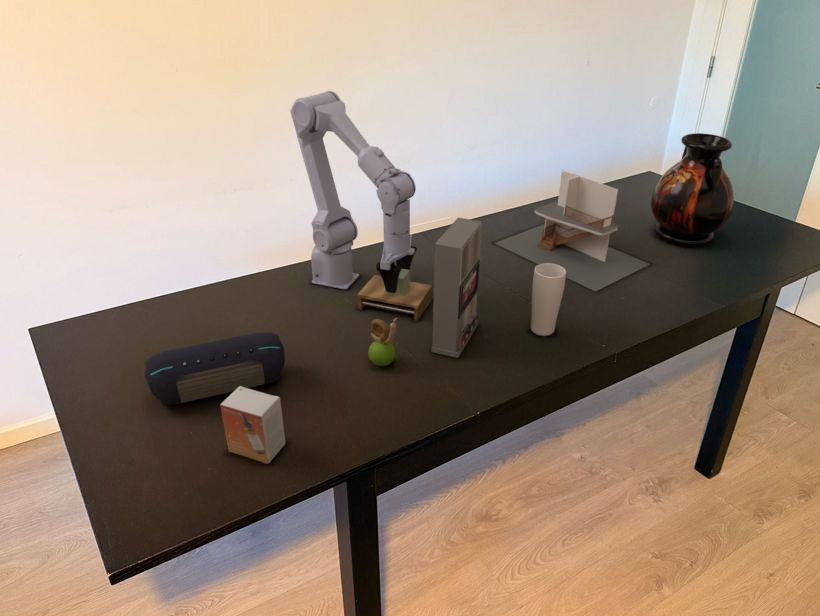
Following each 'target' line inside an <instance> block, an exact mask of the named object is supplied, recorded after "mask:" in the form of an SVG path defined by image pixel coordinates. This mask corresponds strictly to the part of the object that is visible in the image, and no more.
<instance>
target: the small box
mask: <svg viewBox="0 0 820 616" xmlns="http://www.w3.org/2000/svg"><path fill="white" fill-rule="evenodd" d="M281 402H282V401H281V397H280V396H278V395H272V394H269V393H266V392H262V391H259V390H254V389H251V388H245V387H242V386H239V387H238V388H237V389H236V390H235V391H232V392H231V393H230V394H229V396H228V397H226V398H225V399H224V400H223V401H222V402H221V403H220V404H219V406H220V411H221V417H222V422H223V426H224V427H223V428H224V434H225V438H226V444H227V449H228V452H229V453H232V454H235V455H236V454H237V455H239V456H242V457H246V458H248V459H251V460H254V461H257V462H261V463H263V464H266V465H269V464H270V463H271V461H272V460H273V459H274V458H275V457H276V456H277V454H278V453H279V452H280V451H281V450H282V449H283V447H284V446H285V445H286V436H285V429H284V420H283V410H282V404H281Z"/></svg>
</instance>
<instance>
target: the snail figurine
mask: <svg viewBox="0 0 820 616" xmlns="http://www.w3.org/2000/svg"><path fill="white" fill-rule="evenodd" d="M397 322H398V317H395V318H394V319H392V322H391V323H390V324H389V325H388V324H387V322H386V321H384V320H383V319H380V318H375V319H373V320H372V321H371V323H370V330H371V333H370V335H371V336H370V337H372V339H373V340H374V341H373V342H372V343H371V344H370V346H369V347H368V349H367V350H368V351H367V352H368V353H367V355H368V359H369V360H370V362H371V363H372V364H374V365H375V366H378V367H386V366H388V365H390V364H392V362H394V360H395V357H396V349H395V346H394V344H393V343H392V342H393V341H394V339H395V337H396V333H397V329H398V325H397Z"/></svg>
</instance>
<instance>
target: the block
mask: <svg viewBox="0 0 820 616" xmlns="http://www.w3.org/2000/svg"><path fill="white" fill-rule="evenodd" d="M410 281H411V269H410V270H406V269H401V271H400V274H399V277H398V284H397V290H396V292H395V293H389V292H386V289H385V293H388V294H394V295H399V296H404V295H405V293H406V292H407V291H408V289H409V288H410Z"/></svg>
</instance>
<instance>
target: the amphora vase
mask: <svg viewBox="0 0 820 616" xmlns="http://www.w3.org/2000/svg"><path fill="white" fill-rule="evenodd" d="M680 142H681V144H682V145H683V146H684V149H683V153H682V156H681V159H680V160H679V161H678V162H676V163H675V164H674V165H672V166H671V167H669V168H668V169H667V170H666V171H665V172H664V173H663V174H662V176H661V177H660V178H659V180H658V181H657V183H656V185H655V186H654V189H653V192H652V194H651V201H650V208H651V213H652V215H653V218H654V219H655V221H656V222H657V223H656V224H655V225H654V233H655V234H656V236H657V237H659V238H660V239H661V240H663V241H664V242H667V243H669V244H673V245H675V246H680V247H687V248H689V247H690V248H695V247H703V246H707V245H708V244H711V243H712V242H713V240H714V239H715V232H716V231H717V230H719V229H720V228H722V227H723V226H724V225H725V224H726V223H727V221H728V220H729V219H730V217H731V214H732V211H733V208H734V200H735V196H734V195H735V194H734V188H733V183H732V180H731V178H730V176H729V175H728V173H727V171H726V170H725V168H724V167H723V162H722V159H721V157H722V154H723V153H724V152H727V151H729V150H731V149H732V147H733V143H732V141H731V140H729V139H728V138H726V137H725V136H721V135H717V134H709V133H702V132H700V133H697V132H696V133H688V134H685V135H683V136H682V137H681V138H680Z"/></svg>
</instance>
